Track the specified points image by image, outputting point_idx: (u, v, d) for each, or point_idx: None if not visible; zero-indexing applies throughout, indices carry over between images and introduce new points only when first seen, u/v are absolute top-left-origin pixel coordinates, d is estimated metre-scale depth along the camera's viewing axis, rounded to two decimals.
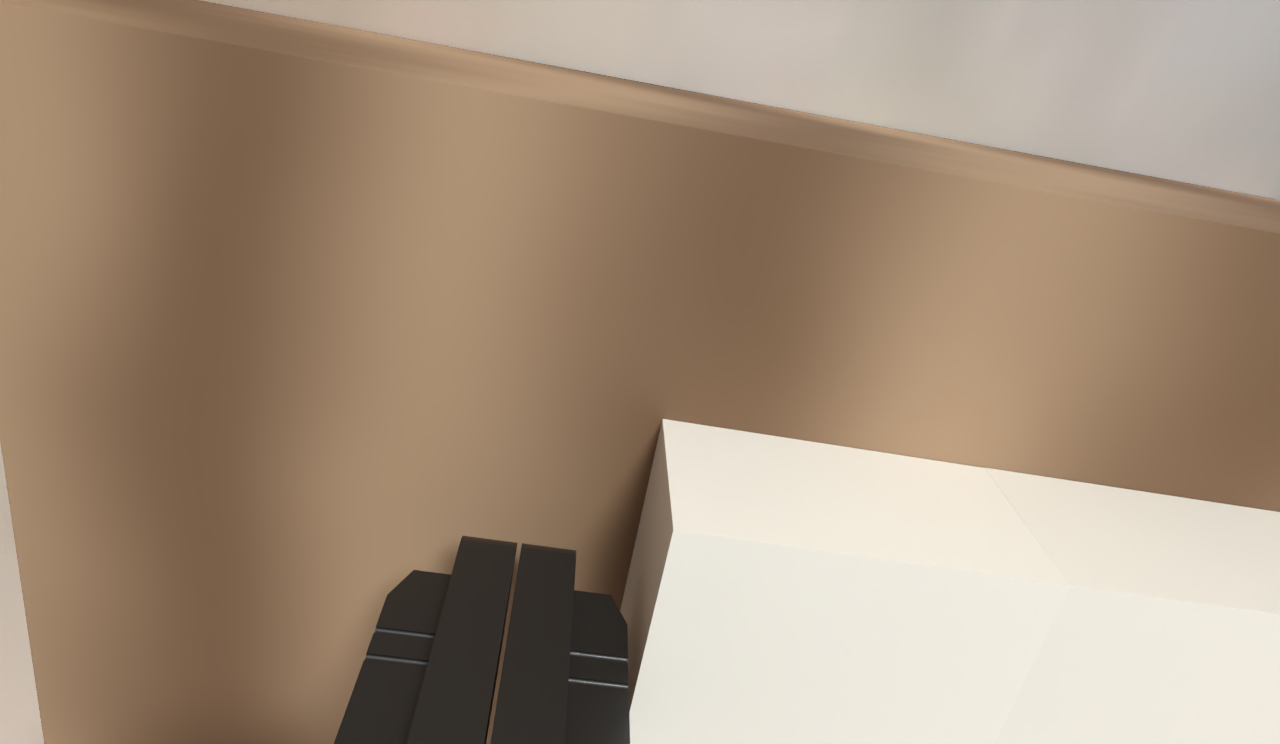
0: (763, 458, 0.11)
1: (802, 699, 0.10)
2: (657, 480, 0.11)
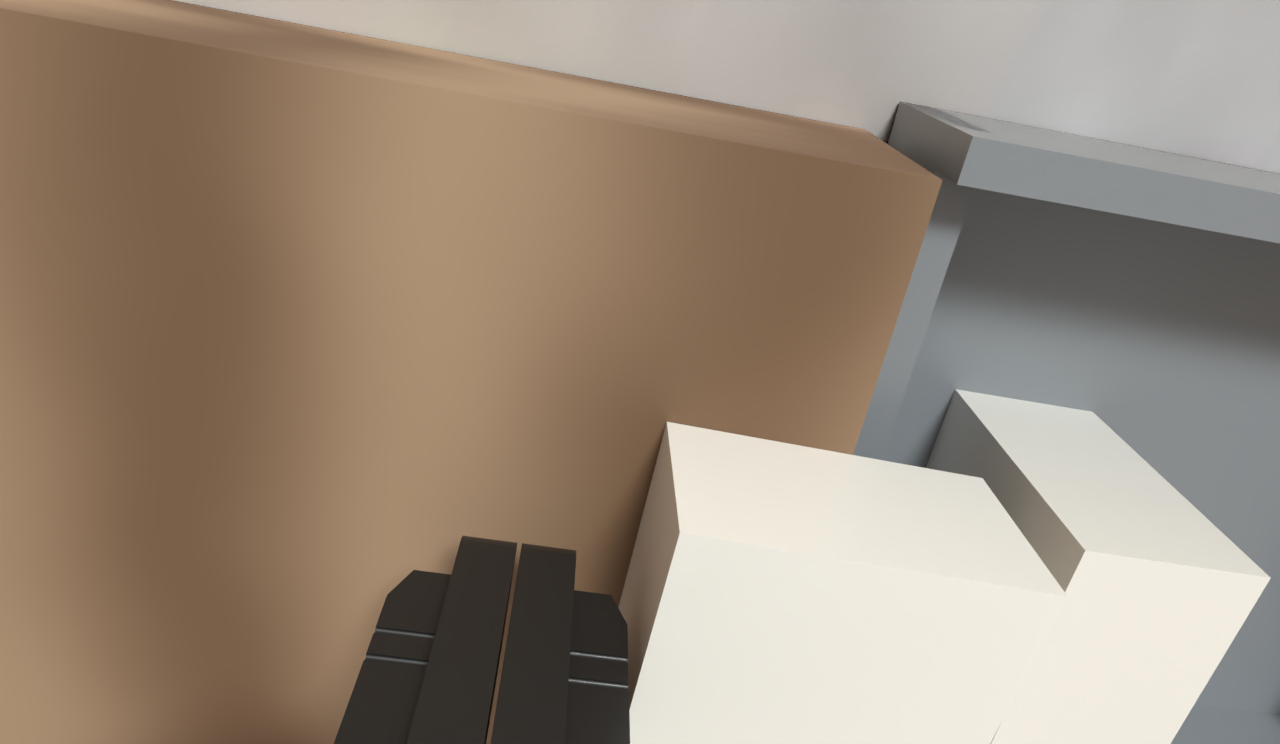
0: (766, 462, 0.11)
1: (800, 703, 0.10)
2: (661, 482, 0.11)
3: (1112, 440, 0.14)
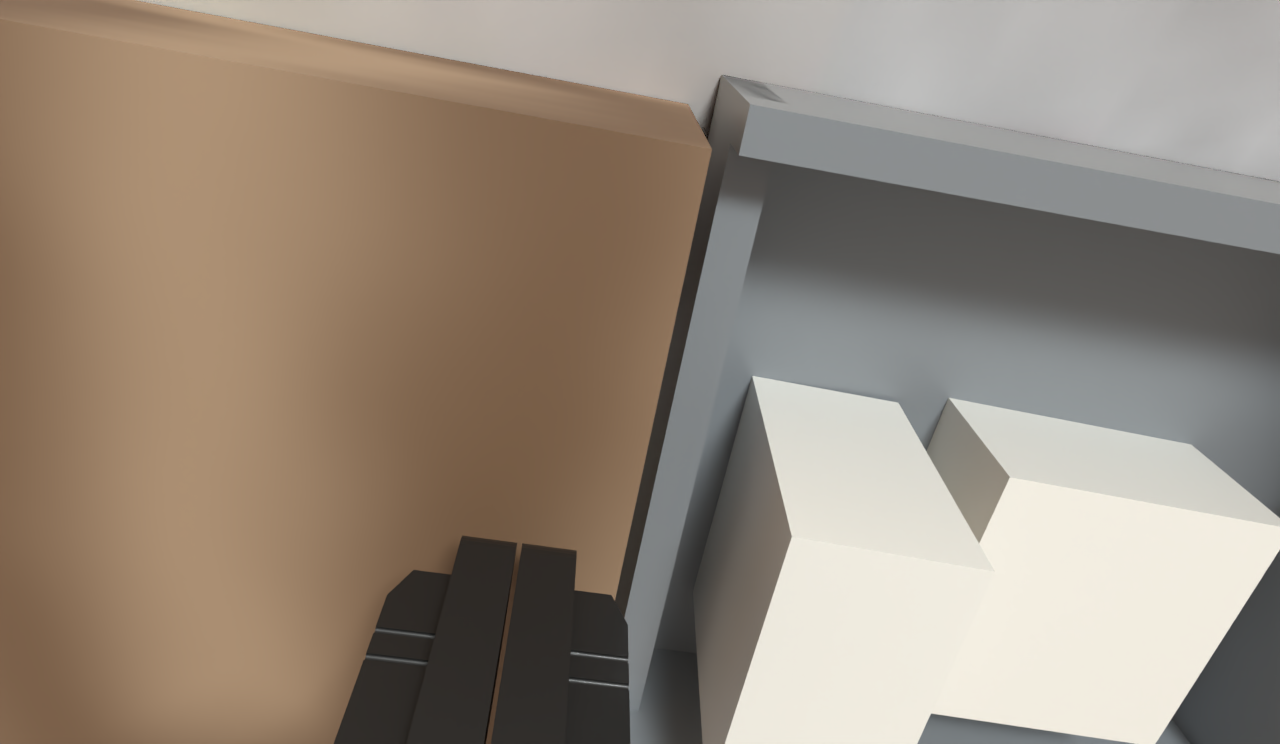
0: (825, 487, 0.11)
1: None
2: (843, 579, 0.10)
3: (1013, 415, 0.15)
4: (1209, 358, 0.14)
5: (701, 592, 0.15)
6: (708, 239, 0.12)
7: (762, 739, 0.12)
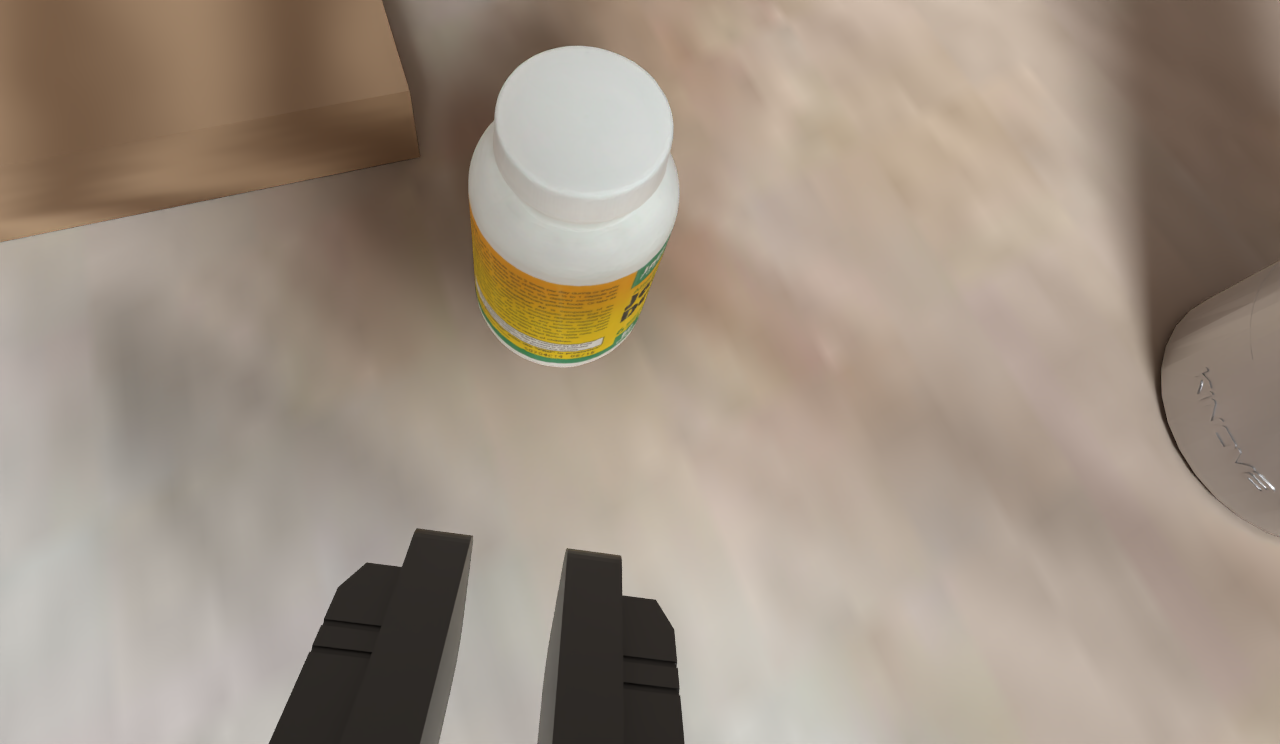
0: None
1: None
2: None
3: None
4: None
5: None
6: None
7: None
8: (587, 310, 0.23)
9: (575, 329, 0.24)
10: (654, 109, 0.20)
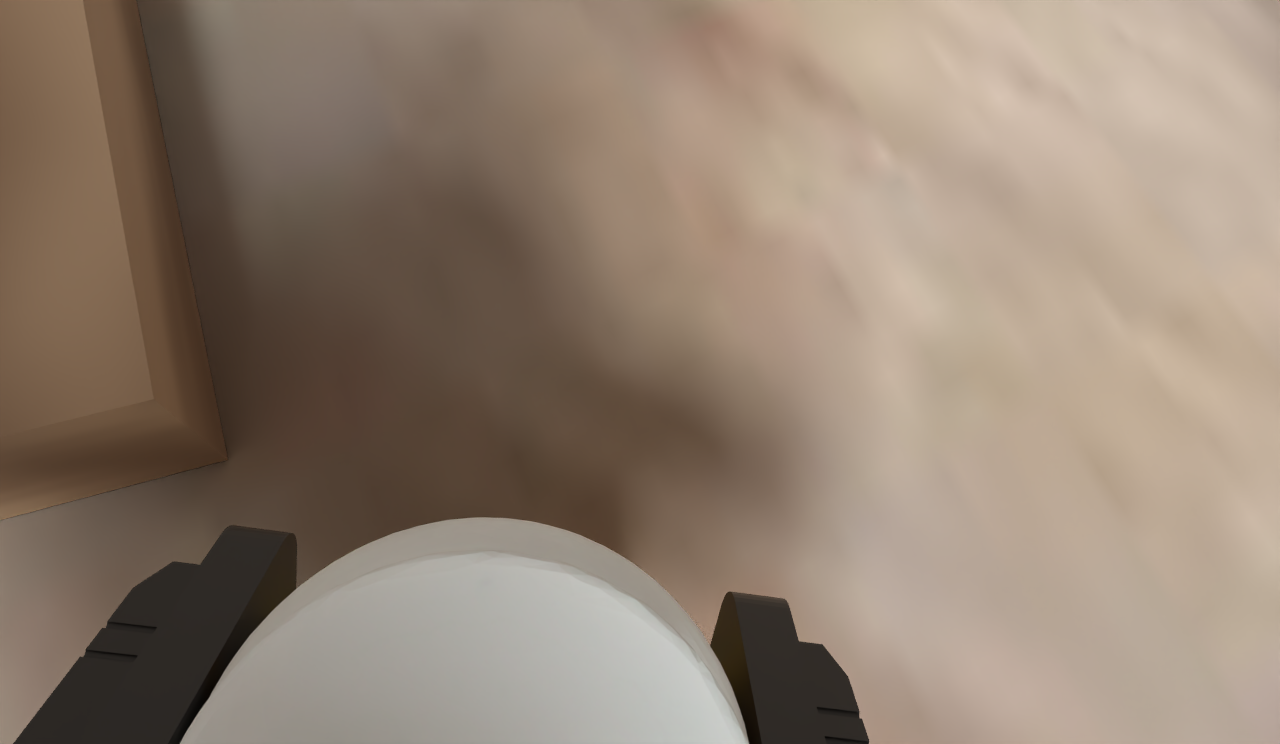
0: None
1: None
2: None
3: None
4: None
5: None
6: None
7: None
8: None
9: None
10: None
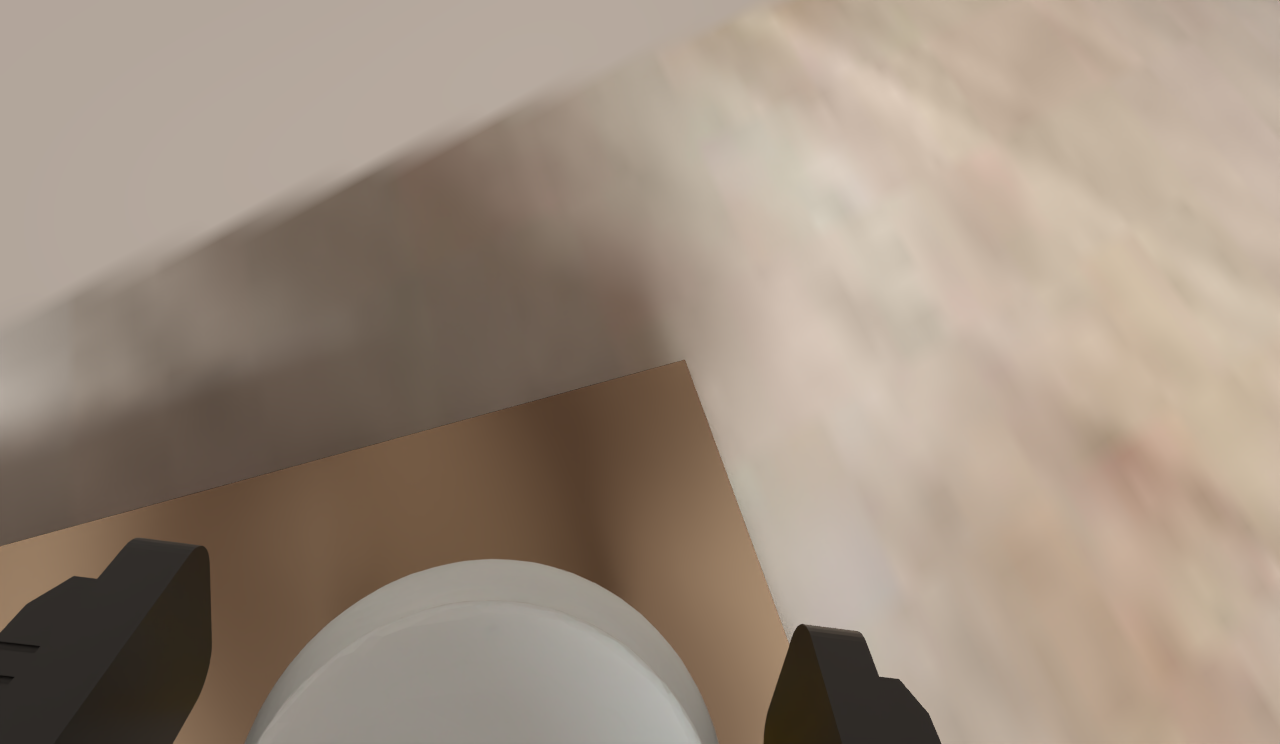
0: None
1: None
2: None
3: None
4: None
5: None
6: None
7: None
8: None
9: None
10: None
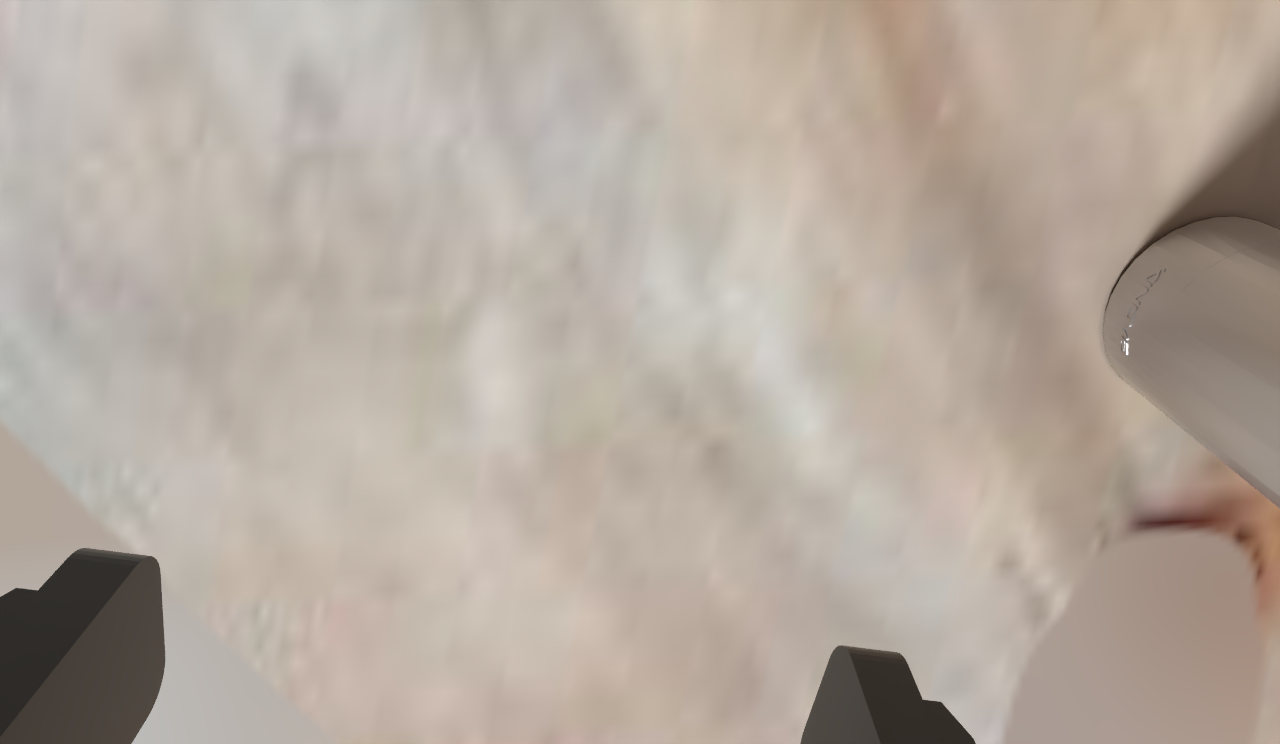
0: None
1: None
2: None
3: None
4: None
5: None
6: None
7: None
8: None
9: None
10: None
